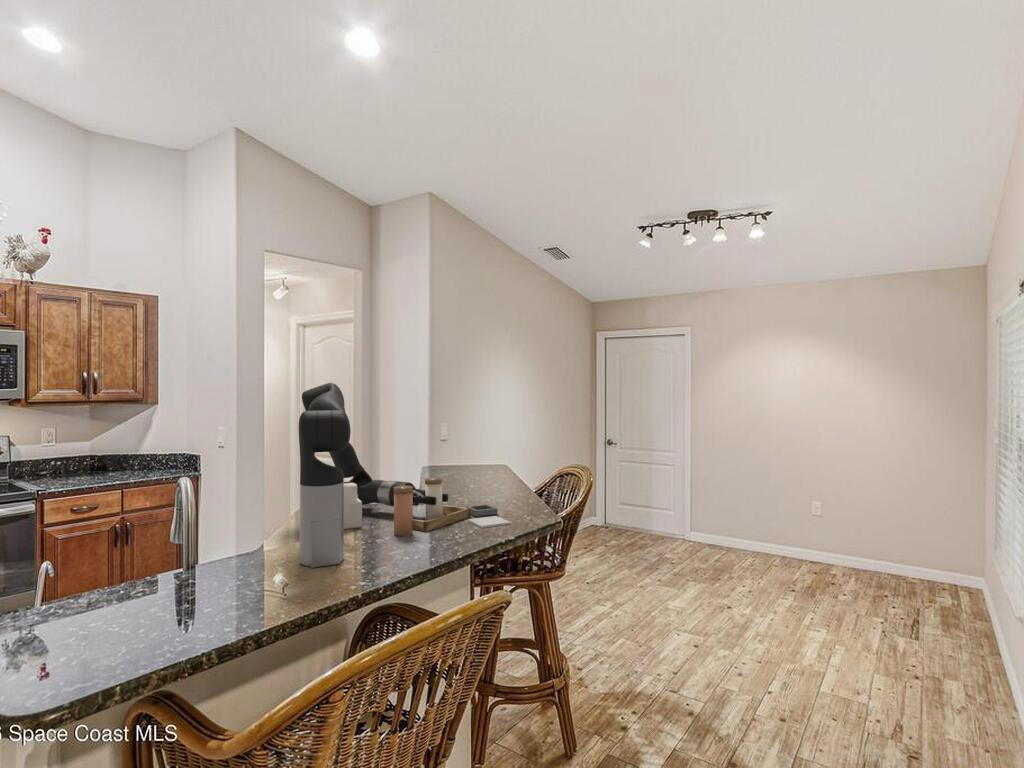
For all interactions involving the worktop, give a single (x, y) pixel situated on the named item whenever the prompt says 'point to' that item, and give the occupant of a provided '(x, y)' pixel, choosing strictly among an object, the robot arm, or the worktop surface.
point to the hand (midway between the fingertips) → (441, 499)
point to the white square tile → (489, 521)
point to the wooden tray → (442, 518)
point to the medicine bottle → (352, 506)
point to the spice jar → (434, 490)
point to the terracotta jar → (403, 510)
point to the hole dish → (482, 510)
